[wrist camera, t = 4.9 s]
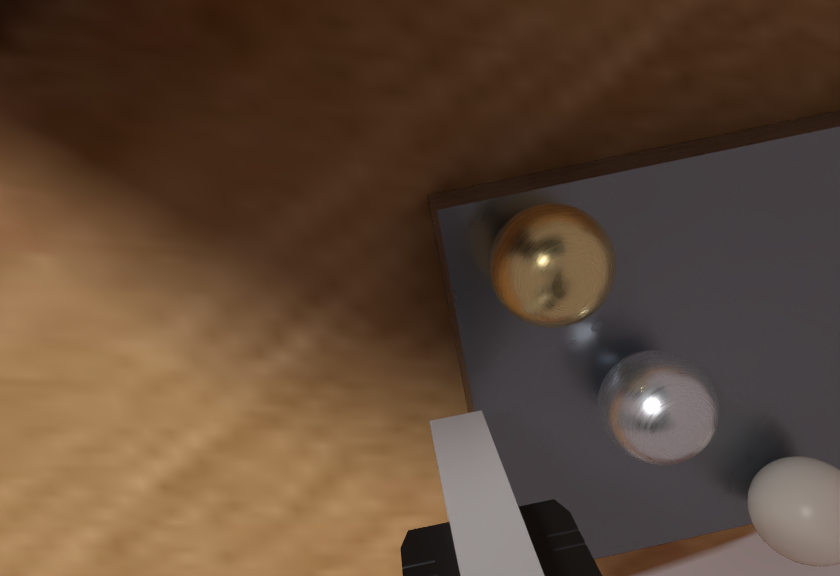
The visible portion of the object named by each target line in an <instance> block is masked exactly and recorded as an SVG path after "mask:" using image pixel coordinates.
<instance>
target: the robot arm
mask: <svg viewBox="0 0 840 576" xmlns="http://www.w3.org/2000/svg"><path fill="white" fill-rule="evenodd" d="M429 422H430V427H431V432H432V438H433V443H434V448H435V453H436V459H437V464H438V469H439V475H440V480H441V485H442V490H443V496H444V501H445V506H446V511H447V516H448V521H449V522H447V523H443V524H438V525H433V526H428V527H423V528H418V529H413V530H408V532H407V534H406V537H405V539H404V541H403V544H402V546H401V559H402V568H403V570H402V571H403V576H602V575H601V573H600V571H599V569H598V567H597V565H596V563H595V561H594V559H593V557H592V555H591V553H590V551H589V549H588V547H587V545H586V544H585V541H584V539H583V537H582V535H581V533H580V531H579V530H578V527H577V525H576V523H575V521H574V519H573V517H572V515H571V513H570V511H568V510H567V509H566V508H565V507H563V506H562V505H561V504H560V503H558V502H557V501H556V500H555V499H552V500H547V501H543V502H538V503H533V504H528V505H523V506H518V505H517V502H516V499H515V497H514V494H513V492H512V489H511V486H510V484H509V481H508V478H507V476H506V473H505V470H504V468H503V465H502V463H501V460H500V457H499V455H498V452H497V449H496V447H495V444H494V442H493V439H492V436H491V434H490V431H489V428H488V426H487V423H486V420H485V418H484V415H483V413H482V410H481V411H476V412H471V413H466V414H461V415H456V416H451V417H446V418H441V419H436V420H431V421H429Z"/></svg>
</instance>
